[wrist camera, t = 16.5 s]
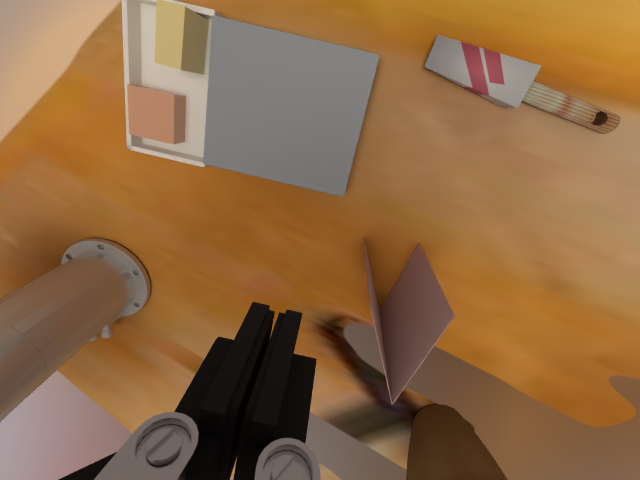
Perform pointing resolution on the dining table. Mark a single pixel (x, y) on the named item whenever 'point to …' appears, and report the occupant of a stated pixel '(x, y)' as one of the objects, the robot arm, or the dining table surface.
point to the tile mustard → (180, 37)
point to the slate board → (285, 105)
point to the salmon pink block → (156, 114)
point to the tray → (164, 80)
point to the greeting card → (408, 320)
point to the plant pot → (447, 448)
